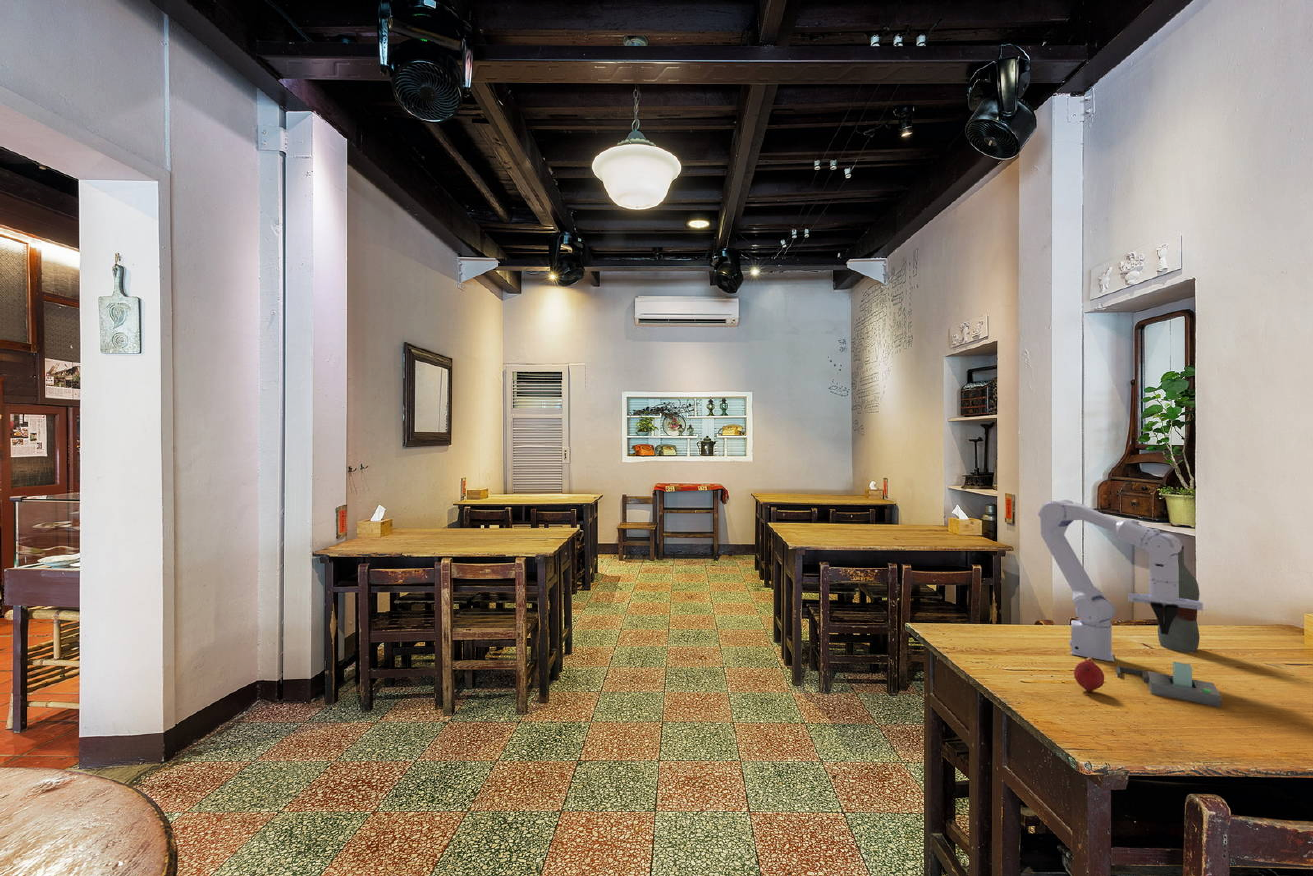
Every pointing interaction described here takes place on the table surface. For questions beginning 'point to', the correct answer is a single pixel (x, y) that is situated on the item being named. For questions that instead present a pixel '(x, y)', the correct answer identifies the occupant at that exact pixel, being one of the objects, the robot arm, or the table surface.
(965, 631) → the table surface
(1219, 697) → the port panel
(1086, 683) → the onion
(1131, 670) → the holster
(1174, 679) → the plug
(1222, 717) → the table surface
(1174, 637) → the bottle
